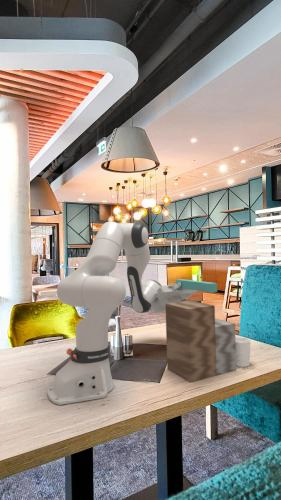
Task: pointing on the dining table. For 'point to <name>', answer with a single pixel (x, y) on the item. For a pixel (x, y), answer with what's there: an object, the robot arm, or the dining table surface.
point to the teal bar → (198, 285)
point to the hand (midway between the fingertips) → (185, 283)
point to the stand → (198, 341)
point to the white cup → (242, 351)
